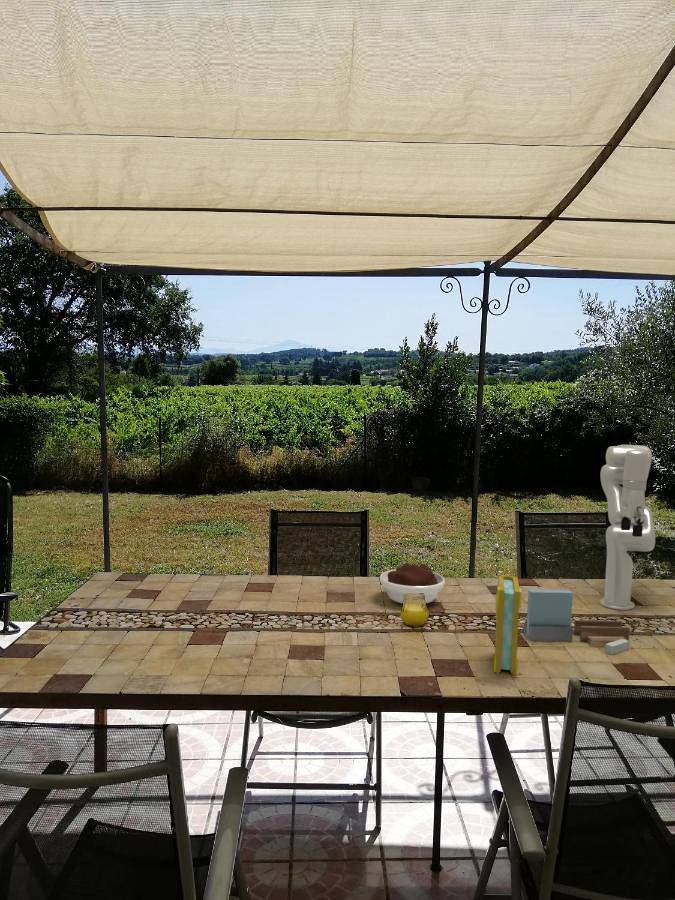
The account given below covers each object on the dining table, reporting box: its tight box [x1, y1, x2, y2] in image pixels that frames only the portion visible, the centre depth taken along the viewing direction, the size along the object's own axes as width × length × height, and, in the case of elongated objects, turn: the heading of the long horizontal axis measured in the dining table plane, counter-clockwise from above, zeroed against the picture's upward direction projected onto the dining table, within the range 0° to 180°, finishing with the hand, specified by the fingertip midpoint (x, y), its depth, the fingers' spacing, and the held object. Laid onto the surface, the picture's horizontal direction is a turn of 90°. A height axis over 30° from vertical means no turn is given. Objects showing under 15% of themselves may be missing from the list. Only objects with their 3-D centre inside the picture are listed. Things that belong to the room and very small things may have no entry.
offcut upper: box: [604, 639, 630, 656], centre depth 230 cm, size 3×9×2 cm
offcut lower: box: [586, 636, 627, 648], centre depth 235 cm, size 4×12×2 cm, turn 93°
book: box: [493, 574, 522, 675], centre depth 217 cm, size 17×7×25 cm, turn 168°
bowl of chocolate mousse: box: [379, 562, 446, 604], centre depth 275 cm, size 25×25×15 cm
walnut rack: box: [573, 619, 631, 643], centre depth 241 cm, size 7×16×5 cm, turn 91°
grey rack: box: [523, 618, 574, 643], centre depth 240 cm, size 7×14×5 cm, turn 91°
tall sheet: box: [525, 589, 574, 639], centre depth 240 cm, size 3×14×16 cm, turn 91°
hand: (631, 533), depth 251 cm, fingers open, 9 cm apart
